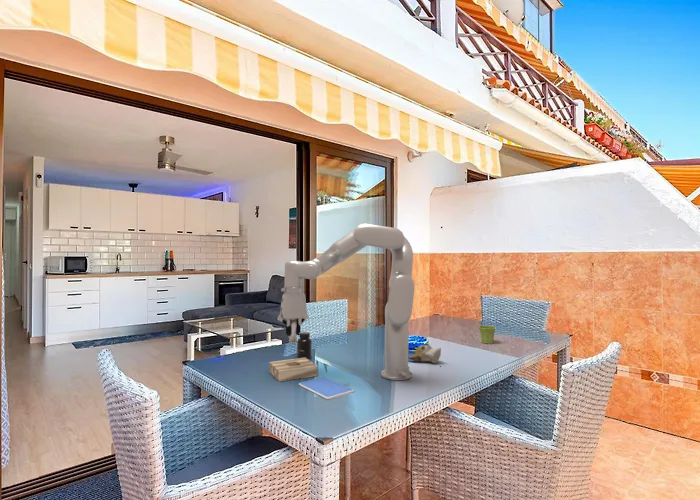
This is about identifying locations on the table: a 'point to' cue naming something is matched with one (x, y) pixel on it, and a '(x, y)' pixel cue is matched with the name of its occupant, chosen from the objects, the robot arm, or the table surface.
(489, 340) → the plant pot
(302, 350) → the supplement bottle
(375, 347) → the table surface
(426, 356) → the ceramic sculpture
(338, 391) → the tablet computer
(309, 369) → the block
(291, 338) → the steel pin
